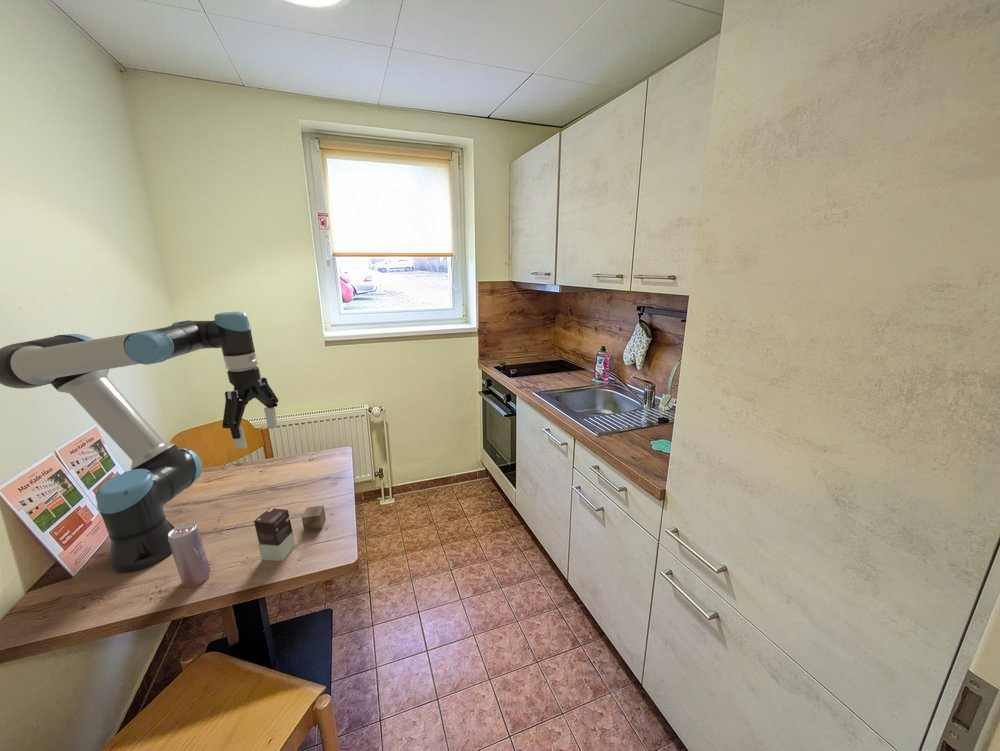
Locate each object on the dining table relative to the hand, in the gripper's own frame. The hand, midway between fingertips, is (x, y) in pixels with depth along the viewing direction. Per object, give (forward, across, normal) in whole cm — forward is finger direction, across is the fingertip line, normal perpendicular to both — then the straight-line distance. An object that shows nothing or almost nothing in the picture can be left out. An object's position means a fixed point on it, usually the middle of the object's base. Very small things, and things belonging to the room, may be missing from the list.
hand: (258, 437), depth 115 cm
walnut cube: (+29, -2, -14) cm, 32 cm away
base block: (+29, -14, -10) cm, 33 cm away
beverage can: (+29, -24, +6) cm, 38 cm away
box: (+24, -14, -10) cm, 29 cm away
